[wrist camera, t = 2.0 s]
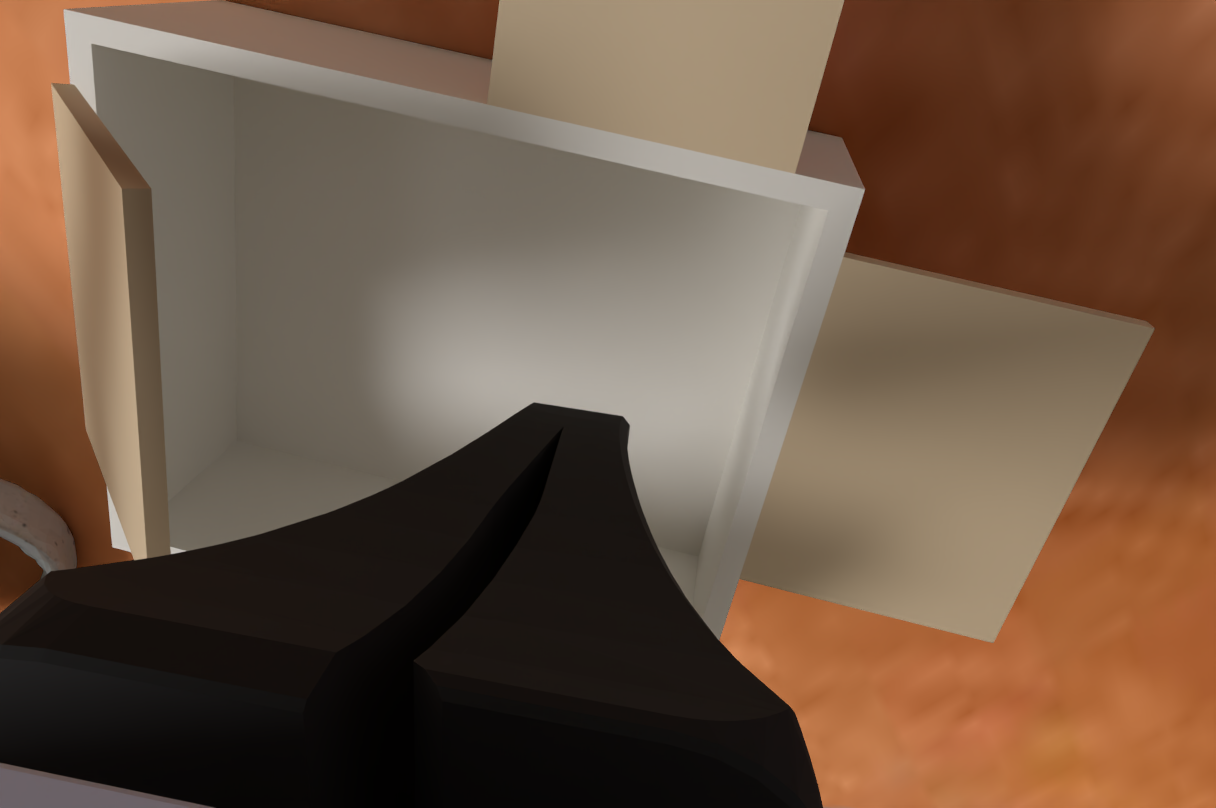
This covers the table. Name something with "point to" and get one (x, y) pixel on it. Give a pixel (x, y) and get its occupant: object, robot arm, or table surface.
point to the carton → (584, 293)
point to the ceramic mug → (35, 529)
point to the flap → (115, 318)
